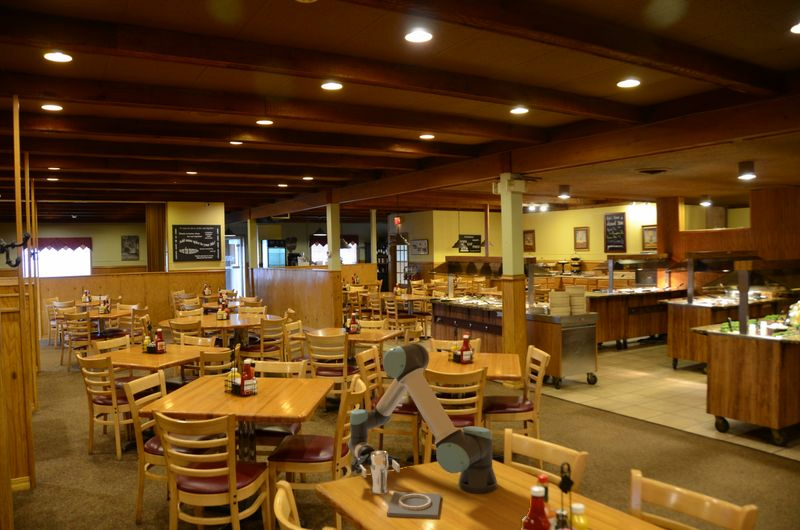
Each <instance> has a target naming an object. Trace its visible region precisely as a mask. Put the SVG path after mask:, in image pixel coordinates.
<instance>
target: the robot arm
mask: <svg viewBox="0 0 800 530" xmlns="http://www.w3.org/2000/svg"><path fill="white" fill-rule="evenodd" d="M429 363H430V354H429V352H428V350H427V349H426V347H425V346H423V345H422V344H419V343H409V344H405V345H399V346H394V347H391V348H390V349H388V350H387V351H386V352H385V354H384V356H383V361H382V365H383V370H384V373H385V374H386V375H387V376H388V377H389V378H392V379H393V381H392V382H391V383H390V385H389V386H388V388H387V389H386V390H385V392H384V393H383V395H382V396H381V397H380V400H378V402H377V404H376V406H375V407H374V408H373V409H372V410H370V411H368V410H366V409H359V408H358V409H354V410H352V411H351V412H350V417H349V418H350V420H349V423H350V426H349V427H350V438H349V440H348V445H347V446H348V448H349V451H350V452H351V453H352V454H353V455H354V457H353V461H352V463H351V464H350V467H351V468H350V469H351V470H350V471H351V472H356V474H361V475H362V477H363V478H367V469H366V468H365V467H367V466H371V453H372V452H374V451H376V450H375V448H374V447H373V446H372V445H370V443H369V438H368V437H369V431H370V430H373V429H375V428H378V427H380V426H384V425H386V424H388V423H389V422H391V420H392V413H393V412H394V411H395V408H396V407H397V406H398V404H400V402H401V400H402V399H403V398H404V396H405V395H406V393H408V394H409V396H410V397H411V400H413V403H414V404H415V406H416V407H417V409H418V411H419V413H420V415H421V416H422V417H423V420H424V422H425V423H426V424H427V427H428V428H429V430H430V431H431V433H432V435H433V436H434V438H435V442H434V446H435V447H436V452H435V454H436V461H437V463H438V465H439V466H440V467H441V469H442V470H443V471H445V472H446V473H450V474H459V473H460V474H459V478H458V487H459V488H460V489H461V490H463V491H465V492H468V493H473V494H487V493H491V492H493V491H495V490H496V489H497V488H498V480H497V477H496V474H495V471H494V469H493V433H492V431H491V430H490V429H488V428H485V427H482V426H481V427H480V426H470V425H469V426H464V427H463V428H462V429H461V428H460V427H456V426H455V425H454V423H453V422H452V420H451V419H450V416H449V415H448V414H447V412H446V411H445V409H444V407H443V405H442V404H441V402H440V400H439V399H438V397H437V395H436V394H435V392H434V391H433V389H432V387H431V386H430V383H428V381H427V379H426V378H425V376H424V372H425V371H426V369H427V368H428V366H429ZM400 464H401V460H400V457H397V456H395V455H391V454H388V466H392V469H394V471H396V473H400V472H401V471H400V470H401V469H400Z"/></svg>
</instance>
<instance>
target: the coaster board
mask: <svg viewBox="0 0 800 530" xmlns="http://www.w3.org/2000/svg"><path fill="white" fill-rule="evenodd" d="M441 497H442V495H441V493H429V492H428V493H427V492H426V493H424V492H405V491H404V492H401V491H394V492H393V493H392V497H391V500H390V503H389V505H388V508H387V511H386V516H387V517H397V518H398V517H399V518H423V519H438V518H439V511H440V504H441V499H442V498H441Z"/></svg>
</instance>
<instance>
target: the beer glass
mask: <svg viewBox="0 0 800 530" xmlns="http://www.w3.org/2000/svg"><path fill="white" fill-rule="evenodd" d="M388 455H389V453H388V452H387V451H386V450H375V451H374V452H372V453H371V465H370V470H371V477H372V488H371V493H373V494H374V495H384V494H387V493H388V484H387V478H388V473H389V465H388Z"/></svg>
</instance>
